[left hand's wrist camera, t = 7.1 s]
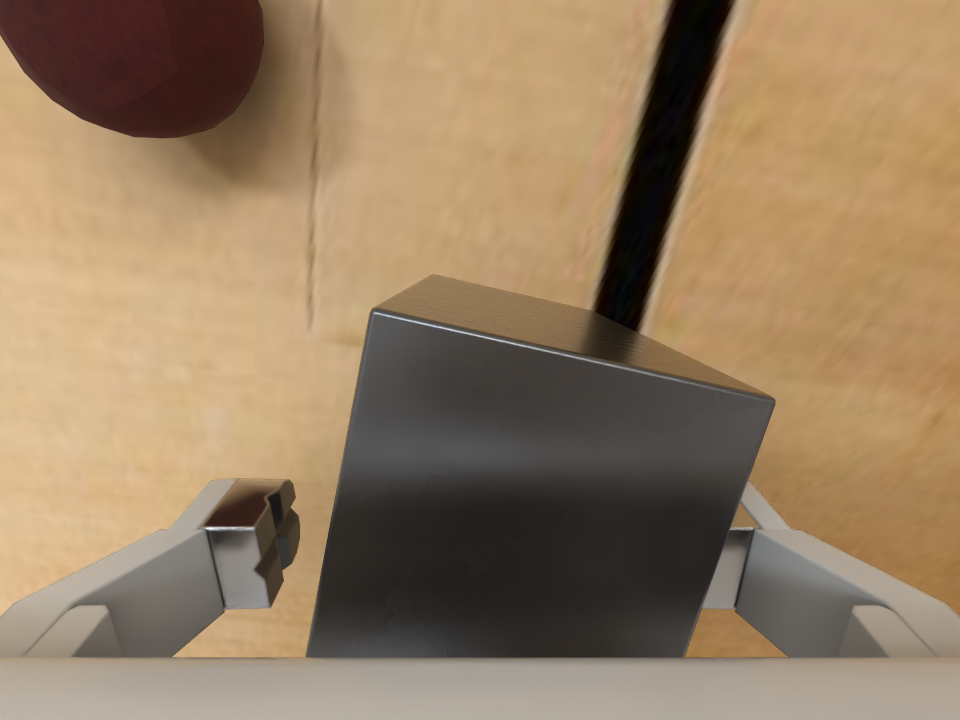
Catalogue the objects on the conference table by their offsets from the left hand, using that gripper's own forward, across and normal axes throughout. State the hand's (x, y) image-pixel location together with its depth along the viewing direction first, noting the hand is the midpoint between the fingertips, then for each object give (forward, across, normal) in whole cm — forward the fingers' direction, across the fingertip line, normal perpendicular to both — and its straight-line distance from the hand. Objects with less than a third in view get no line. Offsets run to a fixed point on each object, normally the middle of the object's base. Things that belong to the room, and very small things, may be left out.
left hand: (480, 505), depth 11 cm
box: (+8, -1, -9) cm, 12 cm away
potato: (+14, -11, +11) cm, 21 cm away
